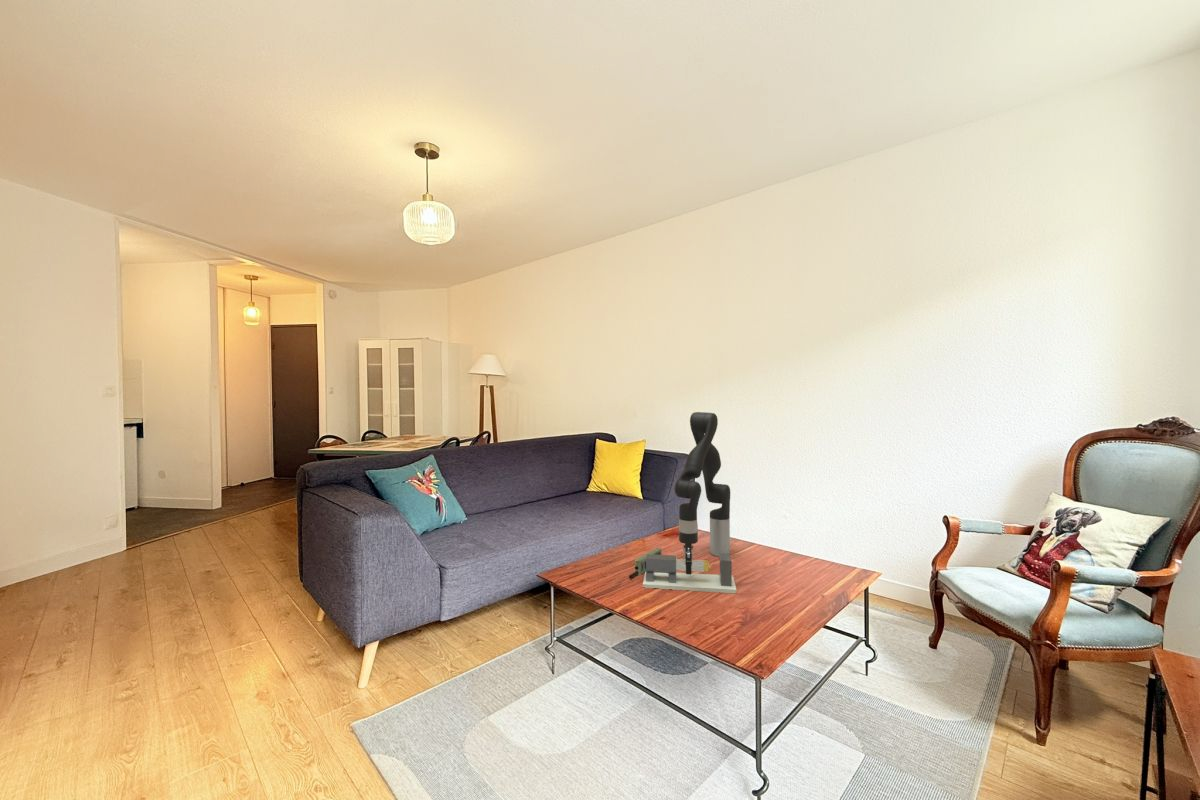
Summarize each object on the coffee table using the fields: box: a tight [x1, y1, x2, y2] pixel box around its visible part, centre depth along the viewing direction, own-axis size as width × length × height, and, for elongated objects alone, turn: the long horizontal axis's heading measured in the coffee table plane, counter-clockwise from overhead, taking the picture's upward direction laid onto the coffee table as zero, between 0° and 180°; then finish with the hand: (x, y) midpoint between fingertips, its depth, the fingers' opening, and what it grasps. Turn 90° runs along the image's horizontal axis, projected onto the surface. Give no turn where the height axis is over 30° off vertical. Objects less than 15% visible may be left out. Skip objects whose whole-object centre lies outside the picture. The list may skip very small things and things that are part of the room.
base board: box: [642, 572, 738, 594], centre depth 193 cm, size 14×36×2 cm, turn 80°
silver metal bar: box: [676, 558, 710, 573], centre depth 194 cm, size 3×24×3 cm, turn 80°
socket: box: [719, 553, 733, 586], centre depth 190 cm, size 8×4×10 cm, turn 170°
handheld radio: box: [628, 547, 662, 579], centre depth 208 cm, size 7×3×25 cm
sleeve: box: [646, 553, 677, 583], centre depth 195 cm, size 8×12×9 cm, turn 80°
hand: (688, 572), depth 193 cm, fingers closed on silver metal bar, 3 cm apart
